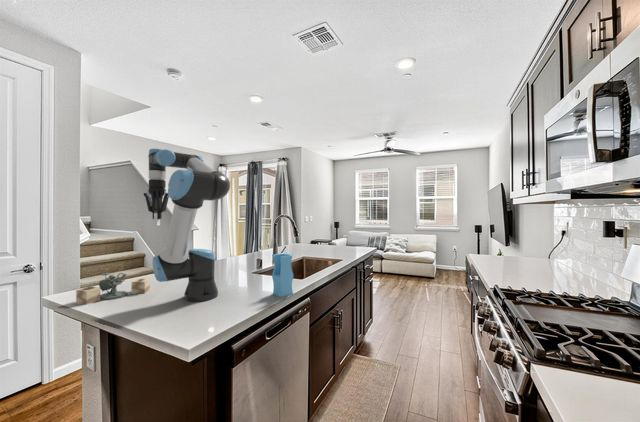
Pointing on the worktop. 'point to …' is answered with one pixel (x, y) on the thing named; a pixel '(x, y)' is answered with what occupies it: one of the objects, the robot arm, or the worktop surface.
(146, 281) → the marked cube
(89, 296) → the marked cube
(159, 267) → the robot arm
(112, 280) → the figurine
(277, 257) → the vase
